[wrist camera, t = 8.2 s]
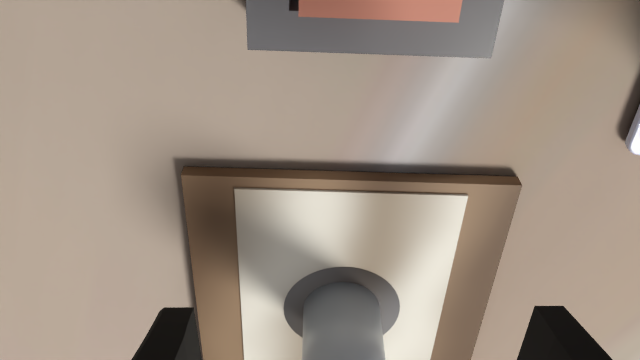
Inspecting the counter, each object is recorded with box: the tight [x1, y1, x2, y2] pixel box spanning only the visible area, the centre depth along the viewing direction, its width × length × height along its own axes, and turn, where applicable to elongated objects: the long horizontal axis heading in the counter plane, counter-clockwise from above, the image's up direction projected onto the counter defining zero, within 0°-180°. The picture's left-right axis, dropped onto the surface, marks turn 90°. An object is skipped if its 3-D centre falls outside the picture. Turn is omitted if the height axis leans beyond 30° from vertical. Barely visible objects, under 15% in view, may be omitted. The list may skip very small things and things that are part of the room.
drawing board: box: [181, 166, 522, 360], centre depth 26 cm, size 13×14×1 cm
